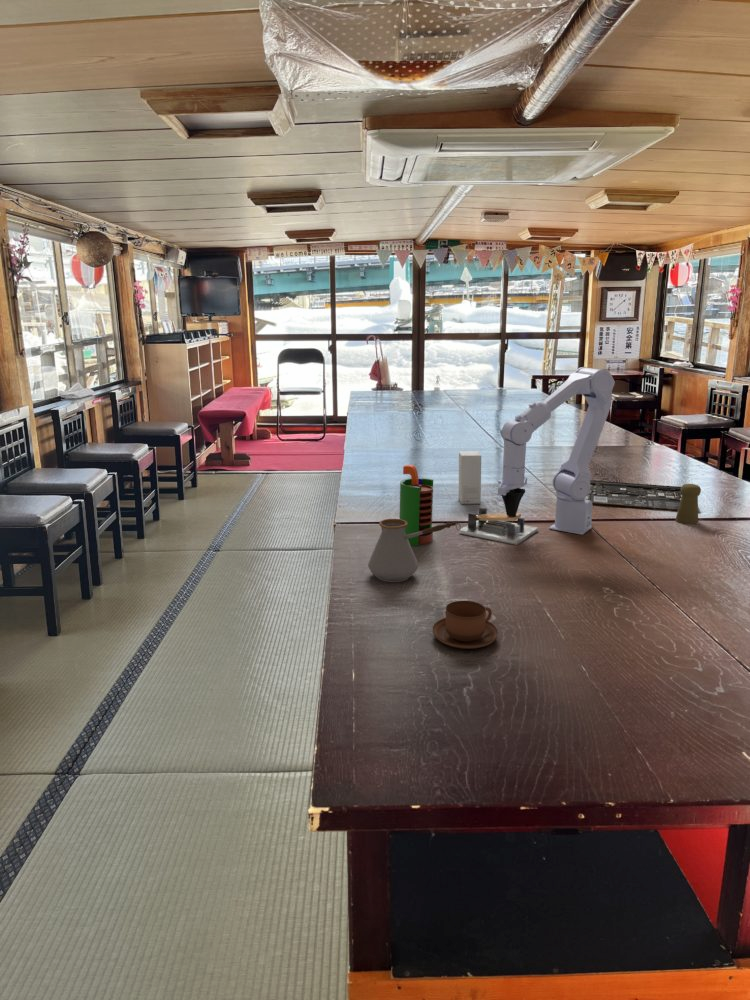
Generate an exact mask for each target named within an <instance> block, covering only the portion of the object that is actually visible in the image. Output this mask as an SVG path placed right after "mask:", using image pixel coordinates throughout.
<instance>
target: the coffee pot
mask: <svg viewBox="0 0 750 1000" xmlns="http://www.w3.org/2000/svg"><path fill="white" fill-rule="evenodd" d="M378 525H379V526H380V528H381V533H380V535H379V538H378V539H377V542H376V544H375V546H374V549H373V551H372V554H371V556H370V558H369V561H368V563H367V564H368V565H367V568H369V571H370V573H371V574H373V576H375V578H377V579H378V580H379V581H382V582H385V583H400V582H405V581H407V580H408V579H410V577H412V576H413V575H414V574H415V573H416V572H417V570H418V568H419V562H418V560H417V557H416V554H415V553H414V551H413V548H412V545H410V543H409V541H408V539H409V538H412V537H415V536H418V535H422V534H427V533H431V532H433V533H435V532H440V531H442V530H444V529H447V528H448V529H450V528H451V527H454V526H455V529H456V530H457V531H458V532H459V530H460V529H462V526H461V524H460V522H458V521H457V520H455V521H452V522H446V523H445V524H438V525H437V524H436V525H435V526H434V525H433V526H432V527H431V528H428V529H425V530H423V531H420V532H416V533H412V534H408V535H406V534H405V527H406V526H407V525H408V523H407V522H406V521H405V520H401V519H400V518H388V519H382V520H380V521H379V523H378ZM457 525H459V528H458V527H457Z"/></svg>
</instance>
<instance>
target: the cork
mask: <svg viewBox="0 0 750 1000" xmlns="http://www.w3.org/2000/svg"><path fill="white" fill-rule="evenodd" d="M680 487H681V494H682V497H681V501H680V505H679V509H678V511H676V516H675V520H674V521H675V522H676V523H679V524H681V523H682V524H681V525H686V524H696V525H698V524H699V511H698V507H699V496H700V495H701V492H702V489H701V487H700V486H699V485H698V484H695V483H685V484H684V483H683V484H682V485H681V486H680ZM697 523H698V524H697Z"/></svg>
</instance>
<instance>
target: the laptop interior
mask: <svg viewBox="0 0 750 1000" xmlns="http://www.w3.org/2000/svg"><path fill="white" fill-rule="evenodd" d="M681 487H682V486H676V485H675V486H674V485H659V484H648V483H633V482H632V483H631V482H621V481H620V482H619V481H605V480H592V479H591V480H590V491H589V493H588V495H587V496H586V497H585V499H586V500H590V501H592V504H593V505H595V506H597V505H598V506H607V507H608V506H609V507H610V506H611V507H622V508H635V509H650V510H663V511H673V512H678V509H679V505H680V501H681V497H682V494H681ZM698 512H700V507H699V506H698Z"/></svg>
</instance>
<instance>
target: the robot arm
mask: <svg viewBox="0 0 750 1000" xmlns="http://www.w3.org/2000/svg"><path fill="white" fill-rule="evenodd" d="M615 384H616V382H615V380H614V378H613V375H612V374H611V372H610V371H609V370H606V369H604V368H603V369H599V368H590V367H586V366H582V367H579V368H578V369H575V371H574V372H572V373H570V375H569V376H568V378H567V379H566V380H565V381H564V382H563V383H562V384H561V385H560V386H559V387H558V388H557V389H555V390H553V392H552V393H551V394H550V395H549V396H548V397H546V398H545V399H544V400H543V401H540V400H539V401H535V402H530V403H529V404H528V408H526V409H525V410H524V411H523V412H521V413H520V414H516V416H515V419H510V420H507V421H506V422H505V423H504V424H503V426H502V428H501V429H500V432H499V433H500V434H499V435H500V436H501V439H503V459H502V460H503V461H502V476H501V477H502V479H499V480H497V484H498V485H499V486H498V487H497V495H500V496H501V498H502V501H503V503H504V504H503V505H504V508H505V514H507V516H515V515H516V514H518V513H517V512H518V510H519V506H520V503H521V500H522V499H523V496H524V495H525V493H526V489H525V488H523V487H526V485H527V484H528V477H526V475H525V472H526V471H525V470H526V457H527V456H526V455H527V454H526V453H527V443H528V442H529V441H530V440H531V438H532V434H533V433H534V432H535V431H537V430H538V429H539V428H540V427H542V425H544V424H545V423H546V422H547V421H549V420H550V419H551V416H552V412H553V411H555V410H556V409H557V408H559V407H560V406H561V405H564V403H565V402H567V401H569V400H570V399H571V398H572V397H574V396H576V395H582V396H583V397H584V399H585V400H586V403H587V404H588V407H587V409H586V412H585V415H584V418H583V420H582V423H581V426H580V429H579V430H578V434H577V436H576V440H575V442H574V445H573V448H572V450H571V453H570V455H569V458H568V460H567V461H565V462H564V463H562V464H561V466H560V468H559V470H558V472H556V473H555V475H554V476H553V478H552V487H553V489H554V490H555V491H556V492H555V493H556V494H555V495H556V501H555V503H556V504H555V514H554V524H552V525H551V526H549V527H548V528H549V529H550V530H553V531H560V532H564V533H565V532H566V533H570V534H577V535H580V536H581V535H584V534H586V533H587V532H588V531H590V529H592V527H593V526H592V521H593V519H592V518H593V508H594V506H593V505H594V504H592V501H590V500H586V499H585V497H586V496H587V495H588V493H589V491H590V480H592V477H593V475H592V472H591V470H590V468H589V465H590V464H591V461H592V458H593V456H594V453H595V451H596V447H597V445H598V442H599V439H600V438H601V434H602V431H603V429H604V427H605V423H606V421H607V419H608V416H609V412H610V410H611V407H612V402H613V389H614V386H615Z"/></svg>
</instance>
